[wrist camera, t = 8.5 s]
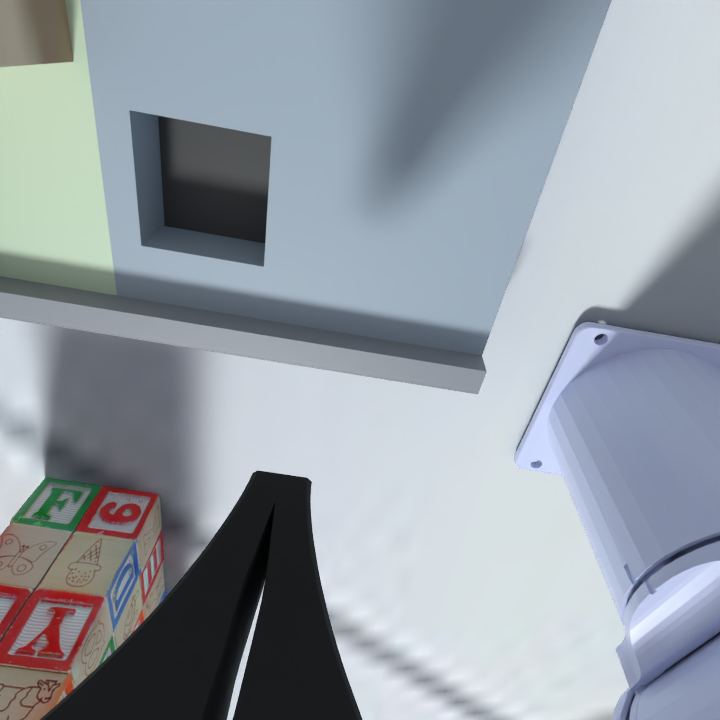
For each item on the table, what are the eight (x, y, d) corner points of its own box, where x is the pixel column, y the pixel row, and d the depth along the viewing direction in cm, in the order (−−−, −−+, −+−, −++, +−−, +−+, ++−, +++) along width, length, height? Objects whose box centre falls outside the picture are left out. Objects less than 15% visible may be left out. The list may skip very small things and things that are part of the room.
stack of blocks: (176, 673, 38) (98, 908, 28) (94, 663, 38) (-14, 897, 27) (160, 490, 26) (16, 779, 16) (42, 473, 26) (-182, 756, 16)
